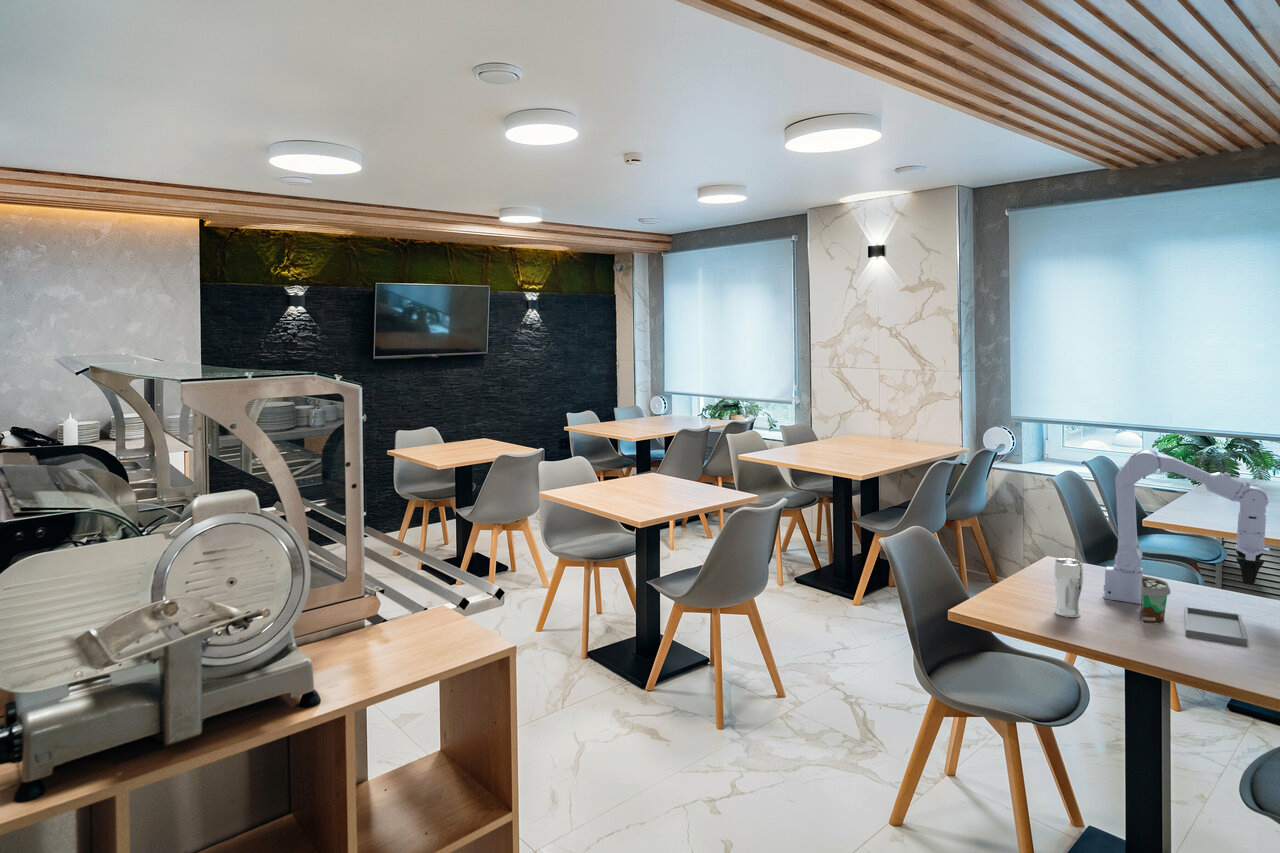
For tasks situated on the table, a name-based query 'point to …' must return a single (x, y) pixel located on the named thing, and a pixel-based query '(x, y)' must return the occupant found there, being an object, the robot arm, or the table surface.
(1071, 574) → the beer glass
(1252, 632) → the table surface
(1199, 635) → the gray tray
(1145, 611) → the food container
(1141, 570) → the robot arm
